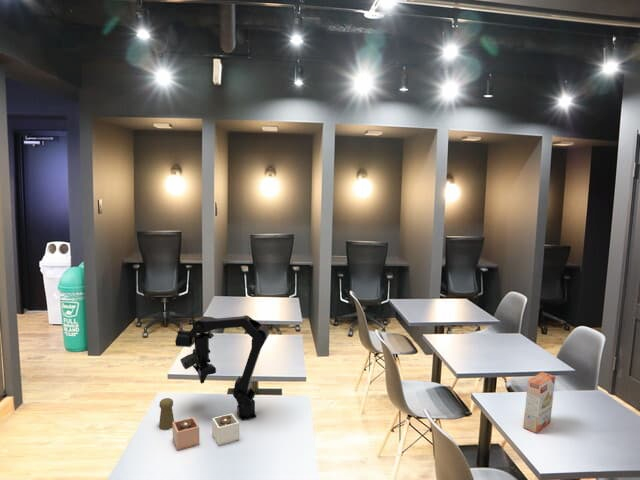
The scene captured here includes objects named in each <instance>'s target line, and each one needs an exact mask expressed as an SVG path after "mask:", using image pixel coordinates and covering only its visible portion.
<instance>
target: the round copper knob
mask: <svg viewBox="0 0 640 480" xmlns="http://www.w3.org/2000/svg"><path fill="white" fill-rule="evenodd" d="M221 416H222V417H221V418H220V424H222V425H224V426H225V425H228V424H230V423H231V417H230V416H223V415H221Z"/></svg>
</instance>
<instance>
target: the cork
mask: <svg viewBox="0 0 640 480" xmlns="http://www.w3.org/2000/svg"><path fill="white" fill-rule="evenodd" d="M158 406H159V408H160V414H159V415H160V416H159V421H158V422H159V423H158V429H159V430H162V431H166V430H171V429H173V428H172V422H175V419H174V413H173V411H174V410H173V407H174V400H173V399H172V398H170V397H164V398H163V399H161V400H160V401H159V405H158Z"/></svg>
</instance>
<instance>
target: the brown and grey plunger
mask: <svg viewBox="0 0 640 480" xmlns="http://www.w3.org/2000/svg"><path fill="white" fill-rule="evenodd" d="M181 420H182V421H181V422H180V428H181V429H184V430H186V429H188V428H190V427H191V420H184V419H181Z"/></svg>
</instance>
